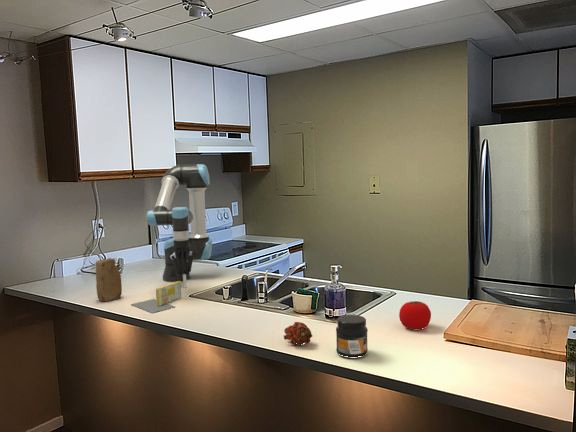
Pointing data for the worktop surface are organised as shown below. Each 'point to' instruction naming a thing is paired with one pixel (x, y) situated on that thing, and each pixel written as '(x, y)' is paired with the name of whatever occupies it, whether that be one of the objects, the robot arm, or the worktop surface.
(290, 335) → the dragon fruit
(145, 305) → the mat
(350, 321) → the supplement container
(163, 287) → the candy box
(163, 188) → the robot arm
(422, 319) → the tomato
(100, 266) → the block
